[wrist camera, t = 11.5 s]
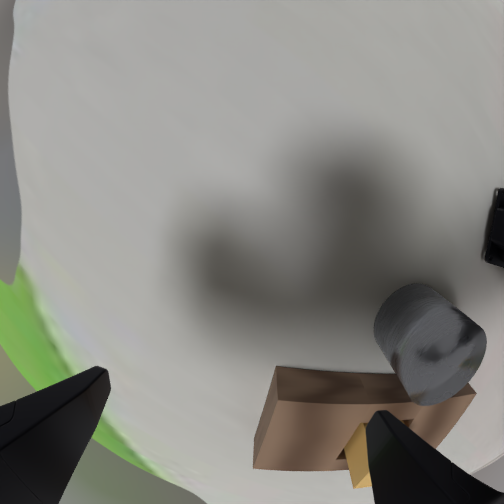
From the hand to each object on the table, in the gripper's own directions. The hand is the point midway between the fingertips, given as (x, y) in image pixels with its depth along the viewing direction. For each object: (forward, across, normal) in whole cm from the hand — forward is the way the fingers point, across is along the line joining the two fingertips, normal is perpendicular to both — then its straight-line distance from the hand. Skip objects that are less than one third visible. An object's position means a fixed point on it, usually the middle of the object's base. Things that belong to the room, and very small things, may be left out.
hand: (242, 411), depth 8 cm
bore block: (+12, -13, +12) cm, 21 cm away
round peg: (+12, -13, +2) cm, 18 cm away
